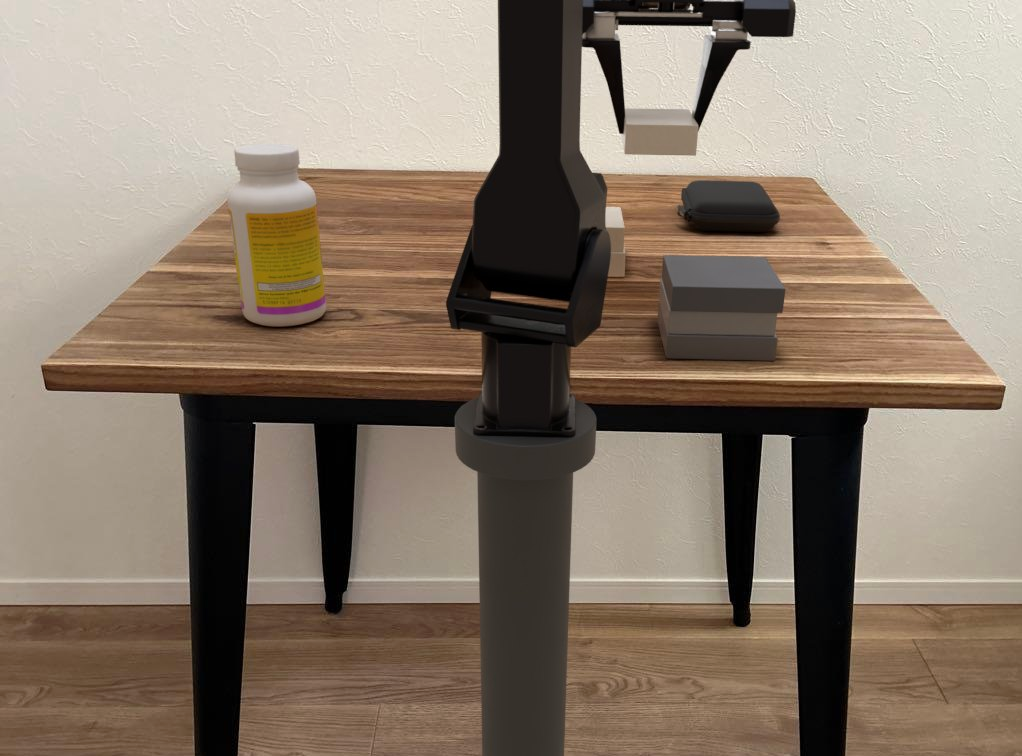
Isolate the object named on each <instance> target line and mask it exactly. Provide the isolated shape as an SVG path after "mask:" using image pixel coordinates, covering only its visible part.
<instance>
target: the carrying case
mask: <svg viewBox="0 0 1022 756" xmlns="http://www.w3.org/2000/svg"><path fill="white" fill-rule="evenodd" d="M680 193H681V194H680V199H681V202H682V205H681V204H678V205H677V208H676V213H677V216H679V217H681V218H683V219H684V220H686V221H687V222H692V224H693V225H694V227H695V229H698V230H700V231H704V232H705V231H706V232H733V233H734V232H737V233H739V232H740V233H742V232H743V233H767V232H770V231H772V230H773V229H774V227H775V225H778V224H779V222H780V220H781V215H780V212H779V210H778V208H777V207H776V205H775V204H774V202H773V201H772V198H771V197H770V195H769V194H768V192H767V190H765V188H764V186H763V185H762V184H760V183H759V182H756V181H750V180H749V181H745V180H743V181H742V180H704V179H703V180H701V179H699V180H693V181H691V182H689V183H688V185H687V187H682V189H681V192H680Z"/></svg>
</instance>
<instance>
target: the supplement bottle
mask: <svg viewBox="0 0 1022 756" xmlns="http://www.w3.org/2000/svg"><path fill="white" fill-rule="evenodd" d="M233 153H234V161H235V162H234V164H235V167H237V171H238V172H239V181H238V182H236V183H235V184H234V185H232V186H231V187H230V189H229V190H228V192H227V196H226V202H227V210H228V217H229V224H230V232H231V239H232V247H233V253H234V261H235V270H236V276H237V285H238V292H239V300H240V306H241V312H242V315H243V317H244V318H245V319H246V320H248V321H249V322H251V323H253V324H256V325H259V326H266V327H278V328H279V327H280V328H281V327H294V326H300V325H305V324H309V323H311V322H314V321H317V320H318V319H320V318H321V317H323V315H324V314H325V313H326V311H327V310H326V309H327V298H326V288H325V279H324V278H325V277H324V268H323V267H324V266H323V260H322V259H323V258H322V248H321V236H320V226H319V217H318V205H317V197H316V193H315V191H314V188H313V187H312V186H311V185H310V184H308V183H307V182H305V181H303V180H302V179H300V178H299V173H298V170H299V167H300V162H301V161H300V152H299V148H298V147H297V146H295V145H291V144H283V143H253V144H246V145H241V146H238V147H236V148H234V151H233Z"/></svg>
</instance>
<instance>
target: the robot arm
mask: <svg viewBox="0 0 1022 756" xmlns="http://www.w3.org/2000/svg"><path fill="white" fill-rule="evenodd" d="M690 7H692V8H691V9H690ZM796 14H797V8H796V2H795V0H497V47H498V48H497V49H498V50H497V52H498V53H497V55H498V61H497V62H498V125H499V126H498V127H499V128H498V129H499V132H498V133H499V134H498V135H499V137H498V138H499V146H498V147H499V149H498V150H499V151H498V156H497V158H496V160H495V161H494V163H493V165H492V167H491V168H490V170H489V172H488V174H487V175H486V177H485V179H484V181H483V183H482V184H481V186H480V188H479V189H478V191H477V192H476V195H475V196H474V198H473V211H472V225H471V227H470V230H469V233H468V236H467V239H466V241H465V243H464V244H465V245H464V247H463V250H462V253H461V256H460V258H459V261H458V265H457V268H456V271H455V274H454V276H453V280H452V283H451V285H450V288H449V291H448V295H447V297H446V302H445V306H446V312H447V316H448V320H449V325H450V328H451V329H450V330H455V331H456V330H457V331H460V330H466V331H472V332H480V335H481V337H480V339H481V344H480V345H481V392H480V393H479V394H478V397H479V398H478V397H477V398H478V404H477V409H476V414H475V420H474V425H473V433H474V434H475V435H477V436H511V437H559V438H571V437H574V436H575V432H576V424H575V399H576V396H575V394H574V393H571V363H572V362H571V361H572V348H577V347H578V346H580V345H581V344H582V343H583V342H584V341H585V340H586V339H587V338H589V337H590V336H591V335H592V334H594V332H595V331H597V330H598V329H599V328H600V327H601V324H602V316H603V312H604V311H603V310H604V305H605V298H606V292H607V291H606V290H607V284H608V278H609V277H608V272H609V266H610V258H611V240H610V235H609V233H608V231H607V230H606V225H605V213H606V207H607V200H608V185H607V183H606V180H605V178H604V175H603V174H602V173H601V172H593V171H592V170H591V168H590V167H589V164H588V162H587V160H586V159H585V157H584V155H583V154H582V152H581V142H580V140H581V139H580V138H581V136H580V135H581V103H582V102H581V101H582V100H581V99H582V97H581V96H582V58H583V57H582V56H583V55H582V54H583V52H582V51H583V48H592V49H594V52H595V54H596V57H597V60H598V62H599V65H600V69H601V70H602V73H603V75H604V78H605V81H606V85H607V87H608V92H609V96H610V100H611V104H612V109H613V113H614V118H615V121H616V125H617V129H618V133H619V135H621V134H624V120H625V108H626V105H625V92H624V91H625V90H624V79H623V77H624V76H623V65H622V51H621V50H622V49H621V41H620V40H621V39H620V37H619V34H618V33H616V31H618V30H619V26H640V27H641V26H645V27H646V26H647V27H650V26H651V27H652V26H653V27H654V26H655V27H709V31H710V34H704V36H703V37H704V38H703V45H702V46H703V47H702V57H701V64H700V68H699V75H698V79H697V84H696V90H695V95H694V101H693V106H692V110H691V111H692V112H691V114H692V117H693V118H694V119H695V121H696V122H697V124H698V132H699V130H700V129H701V126H702V125H703V122H704V119H705V117H706V114H707V112H708V109H709V107H710V104H711V102H712V100H713V98H714V95H715V92H716V90H717V88H718V87H719V84H720V82H721V80H722V78H723V76H724V75H725V73H726V72H727V69H728V68H729V66H730V64H731V63H732V61H733V59H734V57H735V55H736V53H737V52H738V51H741V50H742V51H743V50H744V51H745V50H751V45H752V44H751V43H752V42H751V40H749V39H748V36H750V37H752V38H792V37H794V31H795V21H796ZM748 34H749V35H748ZM492 293H493V294H501V295H508V296H515V297H523V298H529V299H537V300H544V301H553V302H559V303H567V304H568V305H567V308H565V307H564V308H563V307H556V306H550V305H541V304H536V303H535V304H534V303H527V302H520V301H514V300H505V299H497V298H492Z"/></svg>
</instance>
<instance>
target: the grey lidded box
mask: <svg viewBox="0 0 1022 756" xmlns="http://www.w3.org/2000/svg"><path fill="white" fill-rule="evenodd" d="M786 290H787V289H786V287H785V286H784V284H783V283H782V281H781V279H780V277H779V276H778V274H777V273H776V272H775V269H774V268H773V267H772V265H771V263H770V262H769V260H768V258H767V257H766V256H733V255H732V256H731V255H729V256H728V255H684V254H683V255H681V254H680V255H678V254H663V256H662V268H661V277H660V278H659V291H658V306H657V318H656V319H657V320H656V323H657V326H658V330H659V335H660V339H661V343H662V347H663V351H664V355H665V359H667V360H668V359H669V360H672V359H673V360H715V361H716V360H717V361H719V360H720V361H763V362H764V361H768V362H771V361H772V362H775V360H776V356H777V355H776V354H777V349H778V347H777V346H778V339H779V337H778V335H777V334H776V329H777V321H778V314H783V312H784V305H785V297H786Z"/></svg>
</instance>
